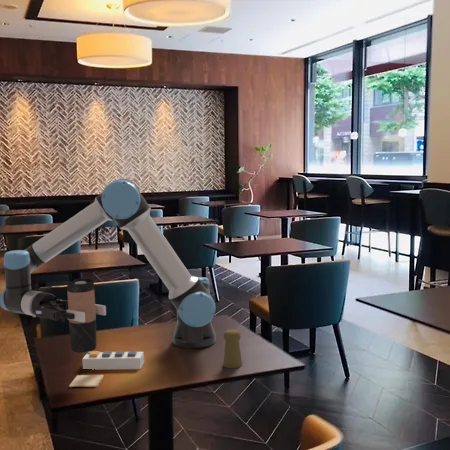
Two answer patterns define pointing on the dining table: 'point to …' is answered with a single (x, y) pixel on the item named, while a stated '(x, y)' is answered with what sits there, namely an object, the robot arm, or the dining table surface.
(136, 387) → the dining table surface
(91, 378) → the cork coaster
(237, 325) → the dining table surface
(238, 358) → the pepper shaker
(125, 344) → the dining table surface
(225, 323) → the dining table surface
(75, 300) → the travel mug
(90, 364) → the socket strip
